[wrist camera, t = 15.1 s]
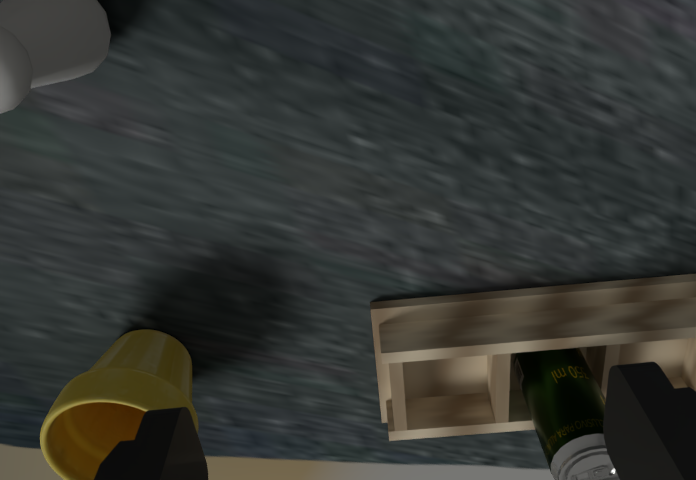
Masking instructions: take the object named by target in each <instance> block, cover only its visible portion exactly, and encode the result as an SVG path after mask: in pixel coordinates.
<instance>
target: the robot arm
mask: <svg viewBox="0 0 696 480" xmlns="http://www.w3.org/2000/svg"><path fill="white" fill-rule="evenodd" d="M603 433H604V440H605V445H606V449H607V452H608V455H609V458H610V460H611V462H612V464H613V466H614V468H615V470H616V472H617V475H618V477H619V479H620V480H696V391H695V390H693V389H692V388H691V387H685V388H674V387H673V385H672V384H671V382H670V381H669V379H668V378H667V376H666V375H665V373H664V372H663V370H662V369H661V368H660V366H659V365H658V364H657V363H655V362H644V363H634V364H624V365H614V366H612V367H611V368H610V370H609V375H608V384H607V393H606V402H605V411H604V421H603ZM94 480H208V469H207V463H206V459H205V456H204V453H203V450H202V447H201V444H200V441H199V437H198V434H197V431H196V428H195V425H194V422H193V419H192V416H191V413H190V411H189V409H188V408H187V407H178V408H168V409H158V410H148V411H146V412H145V414H144V415H143V418H142V420H141V423H140V426H139V428H138V431H137V434H136V437H135V439H134V440H127V441H120V442H119V443H118V444H117V445H116V446H115V447H114V449H113V450H112V451H111V452H110V453H109V454H108V456H107V457H106V458H105V459H104V460H103V461H102V463H101V464H100V466H99V468H98V471H97V473H96V475H95V478H94Z"/></svg>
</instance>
